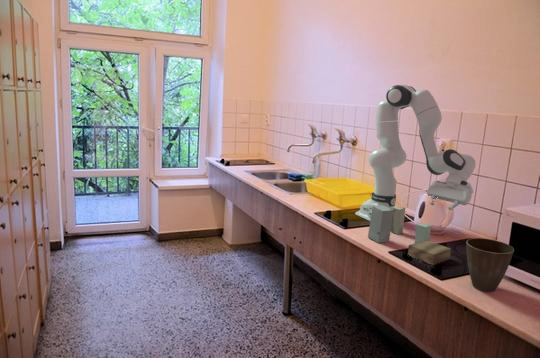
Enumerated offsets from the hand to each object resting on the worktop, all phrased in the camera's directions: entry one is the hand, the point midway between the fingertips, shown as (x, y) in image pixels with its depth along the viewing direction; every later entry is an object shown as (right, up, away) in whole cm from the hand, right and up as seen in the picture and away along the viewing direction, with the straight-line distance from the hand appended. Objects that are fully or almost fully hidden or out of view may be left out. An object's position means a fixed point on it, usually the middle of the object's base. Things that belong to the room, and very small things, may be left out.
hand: (440, 206), depth 194 cm
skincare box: (-29, -16, -1) cm, 33 cm away
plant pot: (-3, -26, -45) cm, 52 cm away
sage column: (-10, -17, -4) cm, 20 cm away
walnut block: (-13, -20, -20) cm, 31 cm away
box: (-18, -14, +10) cm, 24 cm away
